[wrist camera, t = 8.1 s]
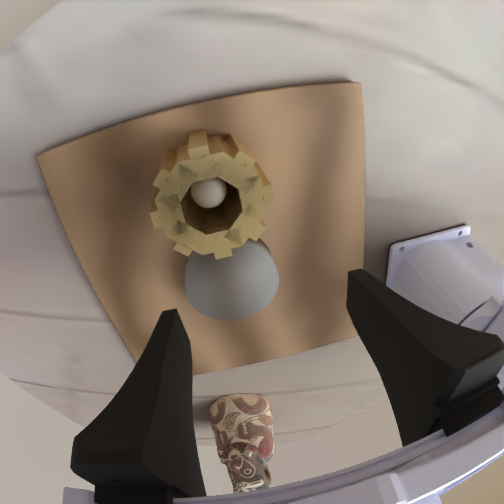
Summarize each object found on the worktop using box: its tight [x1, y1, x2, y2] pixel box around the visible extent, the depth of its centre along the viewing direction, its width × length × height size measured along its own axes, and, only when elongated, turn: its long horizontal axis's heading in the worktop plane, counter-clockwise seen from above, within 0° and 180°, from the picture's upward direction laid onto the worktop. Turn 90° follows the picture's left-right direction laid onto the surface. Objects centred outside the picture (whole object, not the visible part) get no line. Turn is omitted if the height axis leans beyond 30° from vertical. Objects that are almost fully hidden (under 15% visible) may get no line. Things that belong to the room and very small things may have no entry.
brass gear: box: [149, 129, 274, 260], centre depth 17 cm, size 6×6×4 cm
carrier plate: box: [36, 82, 366, 375], centre depth 21 cm, size 20×22×5 cm
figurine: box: [209, 393, 274, 493], centre depth 29 cm, size 7×7×12 cm
